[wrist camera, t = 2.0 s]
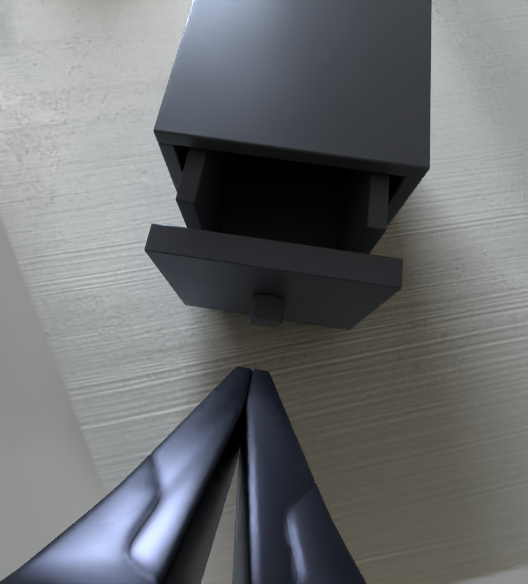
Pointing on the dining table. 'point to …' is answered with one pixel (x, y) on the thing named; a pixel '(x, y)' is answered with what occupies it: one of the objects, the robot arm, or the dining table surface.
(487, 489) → the dining table surface
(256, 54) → the dark grey box
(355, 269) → the fryer drawer
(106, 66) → the dining table surface
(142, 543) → the robot arm
